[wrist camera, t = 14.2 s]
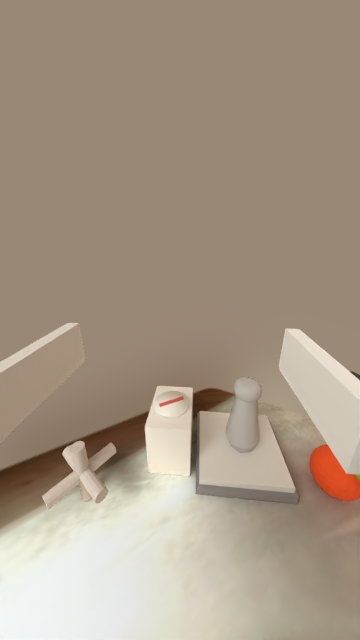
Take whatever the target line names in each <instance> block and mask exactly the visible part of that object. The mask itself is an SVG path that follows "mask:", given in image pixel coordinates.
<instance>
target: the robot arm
mask: <svg viewBox="0 0 360 640" xmlns="http://www.w3.org/2000/svg"><path fill="white" fill-rule="evenodd" d="M84 361H85V354H84V348H83V343H82V338H81V332H80V327H79V323H67V324H65V325H64V326H62V327H60V328H58V329H57V330H55V331H53V332H51V333H50V334H48V335H46V336H45V337H43V338H41V339H39V340H38V341H36V342H34V343H32V344H31V345H29V346H27V347H26V348H24V349H22V350H20V351H19V352H17V353H15V354H13V355H12V356H10V357H8V358H7V359H5V360H3V361H1V362H0V444H1V443H2V442H3V441H4V440H5V439H6V438H7V437H8V436H9V435H10V434H11V433H12V432H13V431H14V430H15V429H16V428H17V427H18V426H19V425H20V424H21V423H22V422H23V421H24V420H25V419H26V418H27V417H28V416H29V415H30V414H31V413H32V412H33V411H34V410H35V409H36V408H37V407H38V406H39V405H40V404H41V403H42V402H43V401H44V400H45V399H47V398H48V397H49V395H51V393H52V392H54V391H55V390H56V389H57V387H59V385H61V384H62V383H63V382H64V381H65V380H66V379H67V378H68V377H69V376H70V375H71V374H72V373H73V372H74V371H75V370H76V369H77V368H78V367H79V366H80V365H81V364H82V363H83V362H84ZM279 370H280V371H281V373H282V374H283V376H284V377H285V379H286V380H287V382H288V383H289V385H290V387H291V388H292V390H293V391H294V393H295V394H296V396H297V398H298V399H299V401H300V402H301V404H302V405H303V407H304V408H305V410H306V412H307V413H308V415H309V416H310V418H311V419H312V421H313V423H314V424H315V426H316V427H317V429H318V430H319V432H320V433H321V435H322V437H323V438H324V440H325V441H326V443H327V444H328V446H329V447H330V449H331V451H332V452H333V454H334V455H335V457H336V458H337V460H338V461H339V463H340V465H341V466H342V468H343V469H344V471H345V472H346V474H357V475H360V375H358V374H356V373H354V372H349V371H348V370H347V369H345V368H344V367H343V366H342V365H341V364H340V363H338V362H337V361H336V360H335V359H334V358H333V357H331V356H330V355H329V354H328V353H327V352H325V351H324V350H323V349H322V348H321V347H319V346H318V345H317V344H316V343H315V342H313V341H312V340H311V339H310V338H309V337H308V336H306V335H305V334H304V333H303V332H301V331H300V330H299V329H285V335H284V340H283V346H282V352H281V357H280V363H279Z"/></svg>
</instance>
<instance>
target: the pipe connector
mask: <svg viewBox="0 0 360 640" xmlns="http://www.w3.org/2000/svg"><path fill="white" fill-rule="evenodd" d="M115 453H116V448H115V446H114V445H113V444H112V443H109V444H108V445H107V446H105V447H104V448H103V449H102V450H100V451H99V452H98V453H97V454H95V455H94V456H93V457H91V458H90V459H89V460H88V458H87V453H86V449H85V444H84V442H83V441H77V442H75V443H74V444H72V445H70V446H68V447H67V448H65V449H64V451H63V456H64V458H65V459H66V461H67V462H68V464H69V465H70V466H71V468H72V469H73V472H72V473H71V474H70V475H68V476H67V477H66V478H64V479H63V480H62V481H61V482H59V483H58V484H57V485H56V486H54V487H53V488H52V489H50V490H49V491H48V492H47V493H45V494H44V495H43V496H42V497H43V499H44V502H45V504H46V506H47V508H48V509H50V508H51V507H52V506H53V505H54V504H56V503H57V502H58V501H59V500H60V499H61V498H63V497H64V496H65V495H66V494H67V493H69V492H70V491H71V490H72V489H73V488H75V487H76V486H77V485H78V484H79V488H80V491H81V495H82V499H83V500H84V501H89V500H90V499H92V498H93V499H94V501H95V502H96V503H100V502H101V501H102V500H103V499H104V498H105V497H106V495H107V493H108V489H107V488H106V487H105V486H104V484H103V483H102V482H101V480H100V479H99V478H98V477H97V475H96V474H95V473H94V471H95V470H96V469H97V468H98V467H100V466H101V465H102V464H103V463H104V462H106V461H107V460H108V459H109V458H110V457H112V456H113V455H114V454H115Z"/></svg>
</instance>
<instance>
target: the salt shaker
mask: <svg viewBox="0 0 360 640" xmlns="http://www.w3.org/2000/svg"><path fill="white" fill-rule="evenodd" d="M234 393H235V395H236V397H235V400H234V403H233V407H232V410H231V413H230V416H229V419H228V422H227V425H226V435H227V438H228V440H229V443H230V445H231V447H232V448H234V449H235V450H237V451H238V452H239V453H245V452H251V451H252V450H253V449H254V448H255V447H256V445H257V444H258V442H259V440H260V433H259V421H258V409H257V401H258V400H259V398H260V397H261V393H262V389H261V385H260V384H259V383H258V382H257V381H256V380H254V379H252V378H249V377H242V378H239V379H237V380H236V381H235V384H234Z"/></svg>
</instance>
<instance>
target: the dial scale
mask: <svg viewBox="0 0 360 640" xmlns="http://www.w3.org/2000/svg"><path fill="white" fill-rule="evenodd" d="M192 408H193V388H189V387H171V386H157V389H156V392H155V396H154V399H153V402H152V405H151V409H150V412H149V415H148V418H147V422H146V425H145V436H146V448H147V460H148V472H149V473H158V474H169V475H180V476H190V465H191V443H192ZM229 416H230V413H224V412H208V411H200V413H197V451H196V494H202V495H212V496H222V497H232V498H242V499H252V500H262V501H272V502H282V503H293V504H298V500H299V495H298V493H297V490H296V488H295V485H294V483H293V480H292V477H291V475H290V472H289V470H288V467H287V465H286V462H285V460H284V457H283V455H282V452H281V450H280V447H279V445H278V442H277V439H276V437H275V434H274V432H273V429H272V427H271V424H270V422H269V419H268V417H267V415H258V421H259V433H260V440H259V442H258V444H257V445H256V447H255V448H254V449H253V450H252V451H251V452H245V453H239V452H238V451H237V450H235V449H234V448H232V447H231V445H230V443H229V440H228V438H227V435H226V425H227V422H228V419H229Z"/></svg>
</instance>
